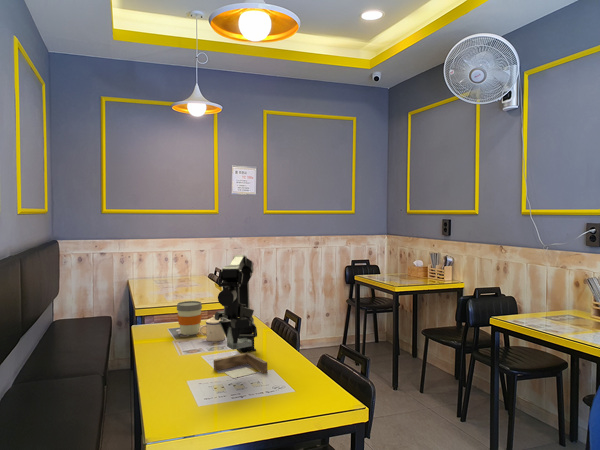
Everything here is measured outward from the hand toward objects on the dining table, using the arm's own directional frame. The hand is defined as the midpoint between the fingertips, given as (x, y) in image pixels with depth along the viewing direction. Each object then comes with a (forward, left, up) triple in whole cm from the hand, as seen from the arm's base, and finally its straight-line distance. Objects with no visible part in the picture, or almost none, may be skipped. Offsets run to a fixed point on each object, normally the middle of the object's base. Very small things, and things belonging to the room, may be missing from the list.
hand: (232, 341), depth 174 cm
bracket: (-3, 0, -2) cm, 4 cm away
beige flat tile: (-3, 0, -12) cm, 13 cm away
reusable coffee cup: (-10, -68, -13) cm, 70 cm away
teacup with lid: (-14, -49, -13) cm, 52 cm away
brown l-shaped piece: (-5, -1, -12) cm, 13 cm away
